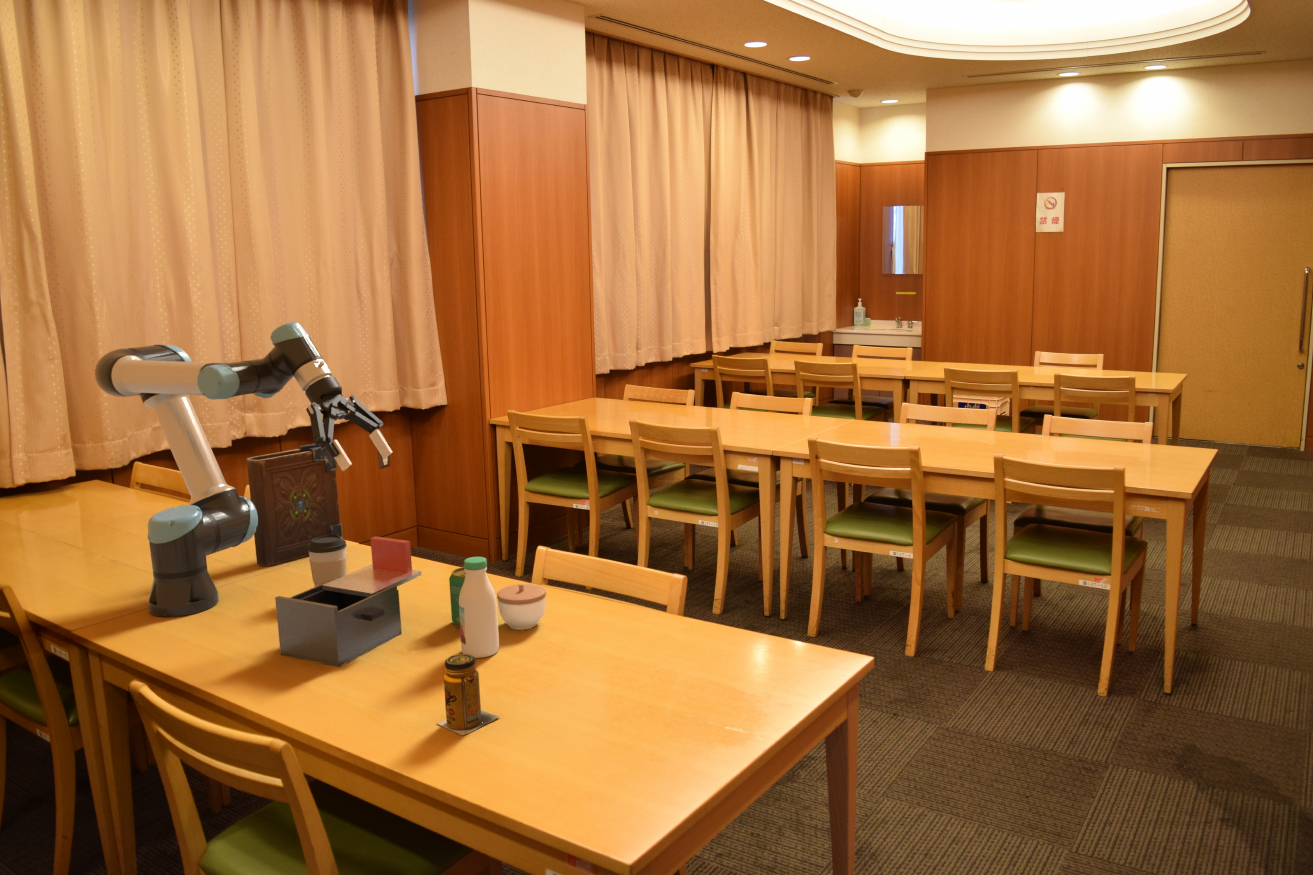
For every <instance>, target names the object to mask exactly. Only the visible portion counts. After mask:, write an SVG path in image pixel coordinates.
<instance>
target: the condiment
mask: <svg viewBox="0 0 1313 875" xmlns="http://www.w3.org/2000/svg"><path fill="white" fill-rule="evenodd" d="M476 661H477V660H476V658H474V656H472V655H469V654H463V653H459V654H453V655H451V656H449V657H447V658H445V660H444V668H445V669H444V675H443V688H444V690H443V691H444V700H445V716H446V719H444V720H441V721H440V722H437V723H436V724H437V725H438V726H440V727H442V728H445V729H446V730H448V731H451V732H453V733H456V734H459V735H461V736H464V735H467V734H469V733H472V732H473V731H475V730H478V729H480V728H482V727H484V726H485V725H486V724H489V723H491V722H493V721H495V720H496V719H498V718H501V716H499V715H496V714H493V713H491V712H488V711H485V710H484V709H482V706H481V692H480V691H481V690H480V676H479V671H478V670H477V664H476ZM490 713H491V714H490ZM482 722H483V723H482Z"/></svg>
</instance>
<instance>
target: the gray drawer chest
mask: <svg viewBox="0 0 1313 875" xmlns="http://www.w3.org/2000/svg"><path fill="white" fill-rule="evenodd" d="M340 577H341V576H340ZM340 577H338V578H340ZM338 578H335V579H333V580H336V579H338ZM333 580H331V581H333ZM331 581H328V582H331ZM328 582H326V583H328ZM326 583H323V584H321V585H319V586H316V587H315V586H314V587H312V588H310V589H307V590H305V591H302V592H300V593H297V594H295V595H293V596H291V597H286V596H281V595H278V596H275V597H274V600H275V609H276V610H275V611H276V620H277V633H278V641H279V652H280V655H281V656H285V657H289V658H290V657H291V658H295V659H300V660H304V661H310V662H315V663H319V664H324V665H329V666H334V667H339V668H340V667H342V666H343V665H345V664H347V663H349V662H351V661H352V660H355V659H356V658H358V657H360V656H363V655H364V654H366V653H368V652H370V651H372V650H374V649H375V648H377V647H380V646H381V645H383V644H385V643H387V642H389V641H390V640H393V639H395V638H397V637H399V636H400V635H402V618H401V607H400V594H399V593H400V592H399V589H398V586H397V585H394V586H392V587H390V588H388V589H385V590H383V591H381V592H379V593H377V594H375V595H372V596H370V597H363V596H358V595H352V594H346V593H340V592H334V591H328V590H322V585H324V584H326Z"/></svg>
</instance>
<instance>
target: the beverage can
mask: <svg viewBox="0 0 1313 875" xmlns="http://www.w3.org/2000/svg"><path fill="white" fill-rule="evenodd" d="M464 569H465V568H464V566H462V567H458V568H455V569H453V570H452V571H451V574H450V575H449V579H448V582H449V595H450V612H451V621H452V623H453V625H454V626H455V627H457V628H458V629H460V617H459V596H460V591H461V588H462V586H463V583H464V580H465V576H466V572H465V571H464Z"/></svg>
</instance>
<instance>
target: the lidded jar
mask: <svg viewBox="0 0 1313 875" xmlns="http://www.w3.org/2000/svg"><path fill="white" fill-rule="evenodd" d="M546 597H547V590H546V588H545V587H544V586H542V585H538V584H534V583H533V584H531V583H520V584H512V585H508V586H505V587H503V588H500V589H499V590H498V591H497V594H496V600H497V605H498V606H497V607H498V611H499V614H500V617H501V618H502V621H504V623H505V624H507V625H508V627H509V626H510V627H511V629H512V630H517V631H522V630H523V631H524V629H526V630H531V629H533V628H535V627H536V626H537V625H538V623H539V622H540V621H541V619H542V618H543V617H544V614H545V611H546V604H547V601H546V600H547V599H546ZM536 624H537V625H536ZM534 626H535V627H534ZM510 627H509V628H510ZM532 627H533V628H532Z"/></svg>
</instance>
